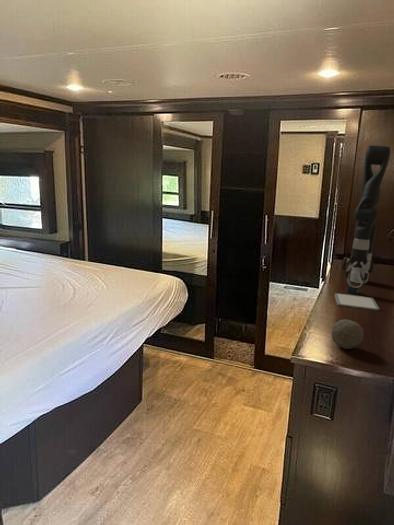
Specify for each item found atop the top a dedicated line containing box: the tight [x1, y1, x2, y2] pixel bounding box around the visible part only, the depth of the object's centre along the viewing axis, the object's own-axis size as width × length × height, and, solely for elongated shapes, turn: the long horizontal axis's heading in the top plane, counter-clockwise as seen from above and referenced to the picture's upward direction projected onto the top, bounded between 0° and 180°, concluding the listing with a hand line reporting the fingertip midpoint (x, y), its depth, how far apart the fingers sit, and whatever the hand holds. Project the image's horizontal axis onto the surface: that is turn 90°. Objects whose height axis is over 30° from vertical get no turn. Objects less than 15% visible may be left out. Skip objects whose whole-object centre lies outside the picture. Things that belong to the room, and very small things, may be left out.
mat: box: [334, 292, 381, 312], centre depth 187 cm, size 18×18×1 cm
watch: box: [346, 271, 364, 296], centre depth 201 cm, size 6×8×11 cm
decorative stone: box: [331, 318, 365, 350], centre depth 136 cm, size 10×8×10 cm
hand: (355, 279), depth 200 cm, fingers closed on watch, 8 cm apart
